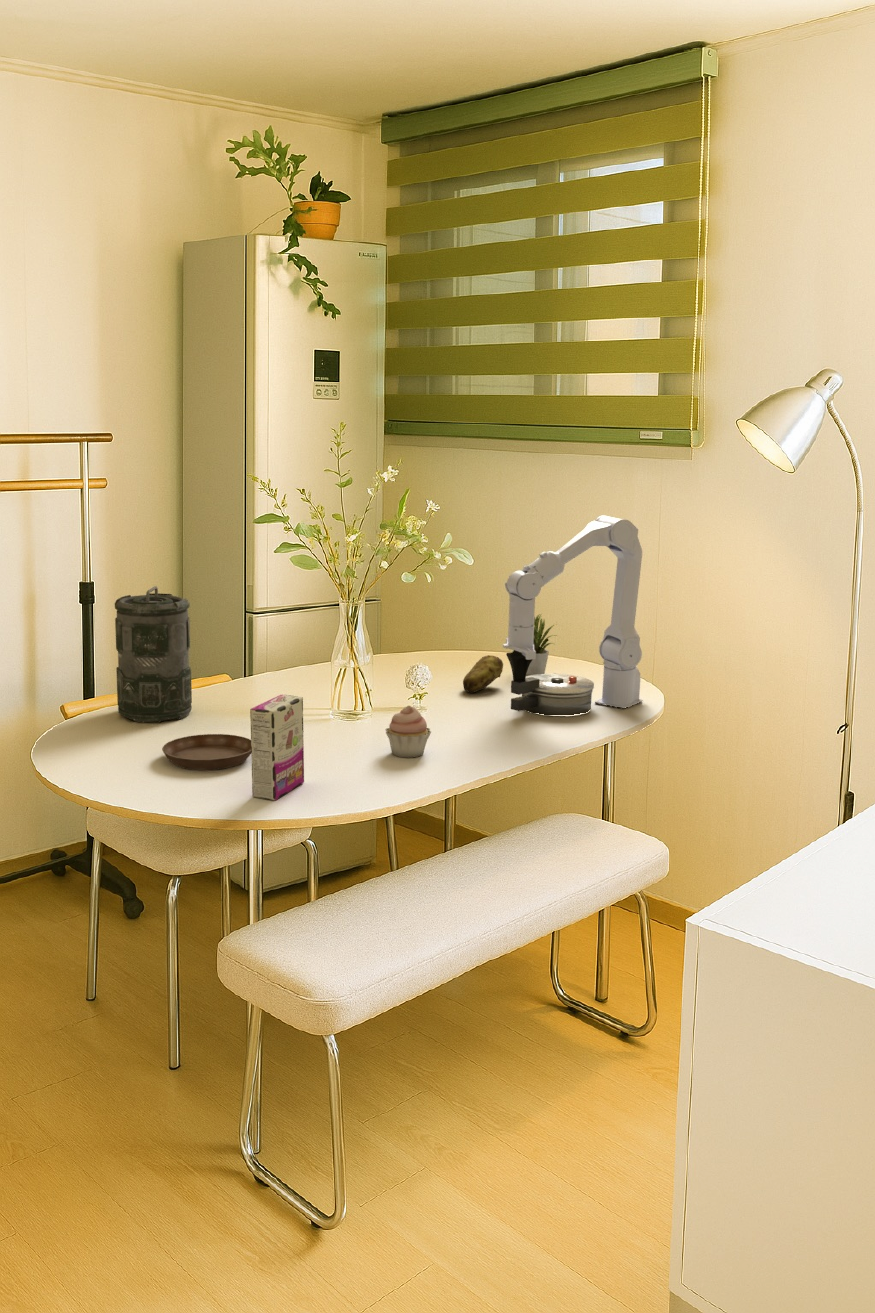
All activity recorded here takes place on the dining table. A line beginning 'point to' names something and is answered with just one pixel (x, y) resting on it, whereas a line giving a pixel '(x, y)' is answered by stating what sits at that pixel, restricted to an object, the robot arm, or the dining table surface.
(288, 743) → the candy bar box
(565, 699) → the pot
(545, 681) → the lid
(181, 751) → the plant saucer
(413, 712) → the cupcake
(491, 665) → the potato
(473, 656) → the dining table surface
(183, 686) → the canister
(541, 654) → the house plant
